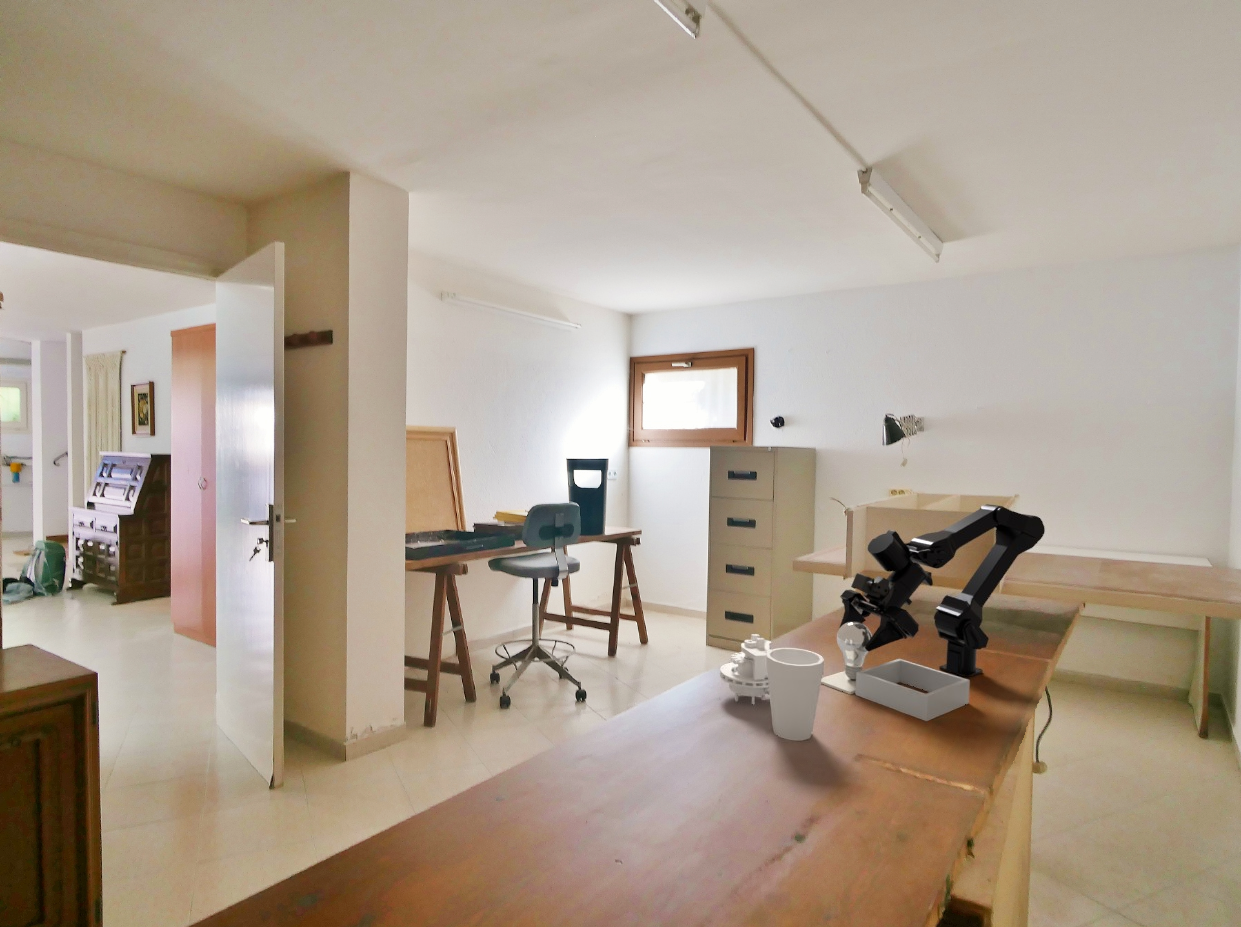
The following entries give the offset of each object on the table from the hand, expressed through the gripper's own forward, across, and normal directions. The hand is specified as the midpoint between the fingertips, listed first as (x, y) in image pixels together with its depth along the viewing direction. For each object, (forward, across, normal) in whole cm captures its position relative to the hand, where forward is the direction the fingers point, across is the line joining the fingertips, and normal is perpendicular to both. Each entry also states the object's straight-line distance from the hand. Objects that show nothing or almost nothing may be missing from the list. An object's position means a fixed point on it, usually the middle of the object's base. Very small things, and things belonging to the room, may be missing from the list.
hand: (852, 643), depth 142 cm
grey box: (+2, +11, +10) cm, 15 cm away
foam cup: (+23, +18, -11) cm, 31 cm away
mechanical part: (+23, +3, -11) cm, 26 cm away
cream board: (+6, 0, +6) cm, 8 cm away
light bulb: (+5, 0, +6) cm, 8 cm away
